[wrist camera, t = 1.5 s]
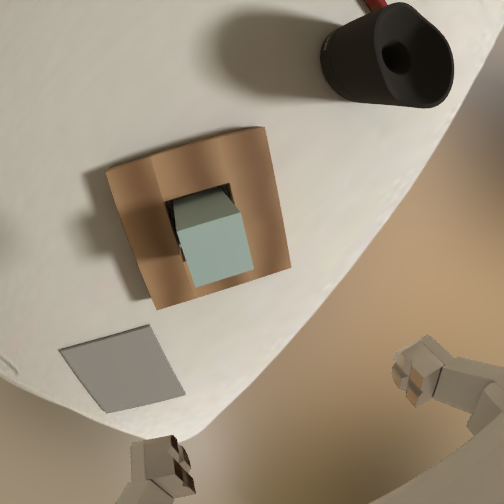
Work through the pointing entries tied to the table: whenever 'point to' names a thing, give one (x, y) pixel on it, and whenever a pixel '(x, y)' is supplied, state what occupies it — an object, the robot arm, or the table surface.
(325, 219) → the table surface
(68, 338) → the table surface
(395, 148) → the table surface
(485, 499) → the robot arm
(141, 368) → the rubber mat
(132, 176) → the plug dock
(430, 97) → the pen holder
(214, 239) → the square plug
